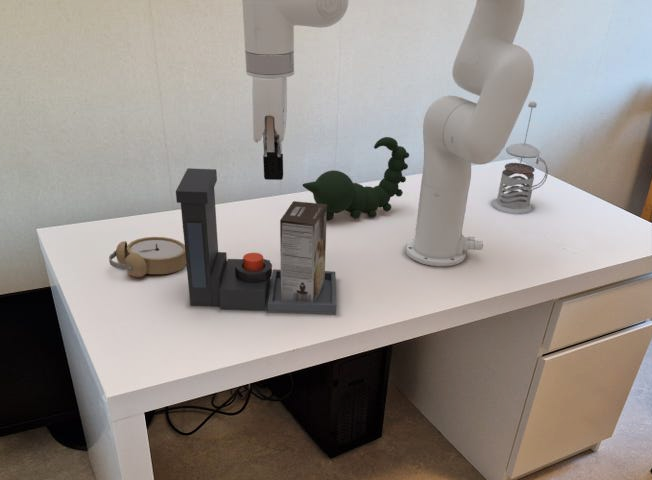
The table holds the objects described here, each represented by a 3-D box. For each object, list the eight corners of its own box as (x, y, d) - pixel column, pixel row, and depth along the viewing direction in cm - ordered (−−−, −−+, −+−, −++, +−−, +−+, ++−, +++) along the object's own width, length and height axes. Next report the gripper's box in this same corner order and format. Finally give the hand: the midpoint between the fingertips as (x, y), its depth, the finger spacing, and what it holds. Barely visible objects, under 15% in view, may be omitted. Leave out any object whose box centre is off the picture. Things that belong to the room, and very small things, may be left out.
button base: (274, 279, 128) (273, 251, 125) (269, 311, 118) (269, 281, 115) (228, 278, 128) (227, 249, 124) (220, 309, 118) (218, 280, 114)
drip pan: (335, 280, 129) (335, 271, 128) (335, 315, 118) (336, 305, 117) (272, 278, 128) (272, 269, 127) (267, 313, 118) (267, 303, 117)
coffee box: (292, 279, 127) (293, 199, 118) (325, 284, 126) (328, 203, 117) (279, 302, 120) (279, 219, 110) (314, 307, 119) (316, 223, 110)
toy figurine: (385, 209, 164) (291, 212, 154) (399, 131, 154) (299, 129, 144) (404, 224, 157) (306, 228, 147) (419, 143, 147) (315, 142, 137)
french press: (490, 197, 170) (509, 94, 155) (536, 201, 169) (560, 98, 154) (493, 211, 162) (513, 105, 147) (541, 216, 161) (566, 109, 146)
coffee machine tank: (228, 279, 127) (222, 169, 115) (220, 308, 118) (213, 192, 106) (197, 278, 127) (187, 168, 115) (187, 307, 118) (175, 190, 106)
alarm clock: (197, 254, 129) (121, 259, 120) (195, 277, 131) (120, 284, 122) (173, 233, 136) (100, 236, 127) (171, 256, 139) (99, 260, 130)
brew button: (264, 263, 121) (264, 252, 120) (262, 272, 118) (262, 261, 117) (244, 262, 121) (244, 252, 120) (242, 271, 118) (242, 261, 117)
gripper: (250, 53, 109) (255, 163, 120) (240, 73, 97) (247, 194, 108) (295, 54, 109) (297, 163, 120) (292, 74, 97) (294, 194, 108)
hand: (273, 177), depth 114 cm, fingers closed
